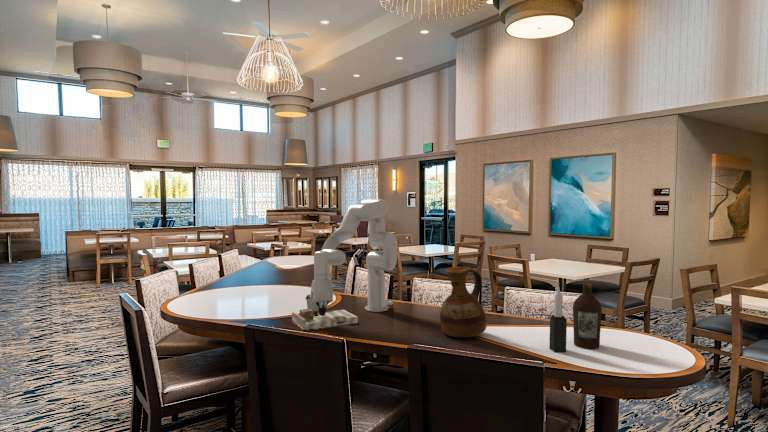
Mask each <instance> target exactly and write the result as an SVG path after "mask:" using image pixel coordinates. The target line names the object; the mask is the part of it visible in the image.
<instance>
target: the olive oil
mask: <svg viewBox="0 0 768 432" xmlns="http://www.w3.org/2000/svg"><path fill="white" fill-rule="evenodd" d="M582 285H583V287H582V293H581V294H580V295H579V296H578V297H577V298H576V299H575V300H574V302H573V304H572V316H573V317H572V319H573V345H574V346H576V347H578V348H581V349H586V350H587V349H588V350H597V349H599V348H600V343H601V342H600V341H601V340H600V339H601V327H602V326H601V324H602V315H603V309H602V303H601V302H600V301H599V299H597V298H596V297H595V296H594V294H593V284H591V283H583V284H582Z"/></svg>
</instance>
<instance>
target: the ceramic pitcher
mask: <svg viewBox="0 0 768 432" xmlns="http://www.w3.org/2000/svg"><path fill="white" fill-rule="evenodd" d="M445 273H446V274H448V275H449V276H450V285H451V287H452V289H451V294H450V295H448V297H447V298H446V299H445V300H444V302H443V304H442V306H441V308H440V313H439V323H440V328H441V331H442V332H443V333H444V334H445V335H446V336H447V335H448V336H449V337H454V338H470V337H476V336H478V335H480V334H482V333H483V332H485V331H486V329H487V317H486V312H485V310H484V308H483V306H482V304H481V303H480V301H479V296H480V292H481V288H482V277H481V275H480V273H479V272H478V271H477V270H475V269H474V268H471V267H470V266H456V267H453V266H452V267H448V268H446V269H445ZM469 273H472V274H473V276H474V277H473V278H474V286H473V290H472V292H469V291H468V289H467V285H466V277H467V275H468V274H469Z"/></svg>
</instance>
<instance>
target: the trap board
mask: <svg viewBox="0 0 768 432" xmlns="http://www.w3.org/2000/svg"><path fill="white" fill-rule="evenodd" d="M291 314H292V315H291V322H292V324H294V326H296V325H297V326H296V327H297V328H299V327H300V328H301V329H300V328H299V329H300V330H302V329H303V330H307V331H310V330H309V329H314V330H320V329H319V328H321V329H325V328H326V329H328V328H333V327H340V326H346V325H351V324H358V321H359V320H358V318H359V316H357V315H355V314H353V313H351V312H348V311H347V310H346V309H340V310H339V309H337V310H331V311H330V310H329V311H327V312H326V313H325V316H321V315H320V314H319V313H318V316H315V315H313V319H312V320H305V319H304V318H303V317H301V316H300V314H299V313H296V312H295V311H291ZM303 330H302V331H303Z"/></svg>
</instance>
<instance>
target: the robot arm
mask: <svg viewBox="0 0 768 432" xmlns="http://www.w3.org/2000/svg"><path fill="white" fill-rule="evenodd" d="M389 207H390V206H389V203H388V202H387V200H385V199H383V198H366V199H363V200H361V202H360V203H359V204H358V203H357V204H356V203H354V204H350V206H349V207H348V208H347V210H346V212H345V214H344V216H343V218H342V220H341V223H340V224H339V226H338V228H337V229H336V230H335V231H334V232H333V233H331V235H329V237H327V238H326V240H325V241H324V243H323V245H322V247H321V249H320V250H317V251H315V252H314V253H313V280H312V281H311V285H310V286H311V287H310V294H311V300H312V301H311V304H315V305H317V306H318V307H319V314H320V315H321V316H325V313H326V307H327V308H328V305H329V304H331V303H332V302H334V299H333V298H334V287H333V281H332V279H331V277H333V273H331V266H341V265H343V264H344V263H345V262H346V260H347V255H346V253H345V252H344V251H343V250H339V249H337V247H338V246H339V245H340V244H341V243H343V242H345V241H347V240H349V239H352V238H353V237H354V236H355V234H356V232H357V230H358V227H359V225H360V223H361V222H368V226H369V228H368V229H369V230H368V231H369V232H368V233H369V236H368V242H369V243H368V244H369V246H370V247H371V248H373V249H377V250H372V251H370V252H369V253H367V255H366V258H365V264H366V268H367V305H365V307H364V310H365V311H367V312H372V313H373V312H374V313H377V312H378V313H379V312H380V313H381V312H385V311H388V310H389V306H390V305H393V304H394V302H393V300H386V273H385V271H393V270H394V269H395V267H396V266H397V260H398V258H397V257H398V240H397V237H396V235H395V233H393V232H391V231H386V222H385V221H386V219H385V218H384V215H386V214H387V213H388V211H389V209H390V208H389ZM379 250H381V251H379ZM321 301H323V303H322V302H321Z"/></svg>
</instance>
